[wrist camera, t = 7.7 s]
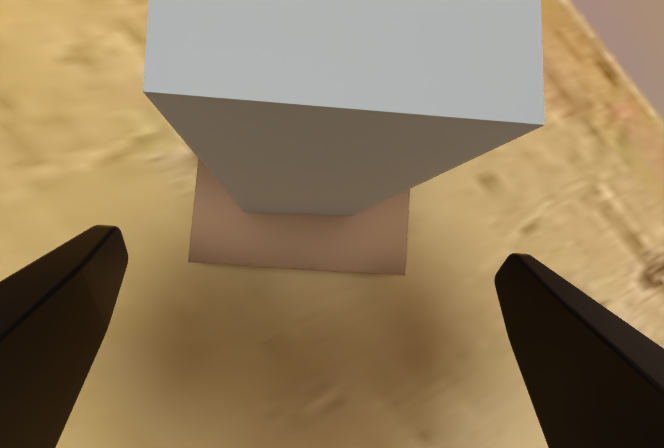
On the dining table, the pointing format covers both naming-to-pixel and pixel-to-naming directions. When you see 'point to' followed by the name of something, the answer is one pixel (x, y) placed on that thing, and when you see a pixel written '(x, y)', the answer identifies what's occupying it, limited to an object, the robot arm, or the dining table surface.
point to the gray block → (342, 92)
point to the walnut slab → (297, 234)
